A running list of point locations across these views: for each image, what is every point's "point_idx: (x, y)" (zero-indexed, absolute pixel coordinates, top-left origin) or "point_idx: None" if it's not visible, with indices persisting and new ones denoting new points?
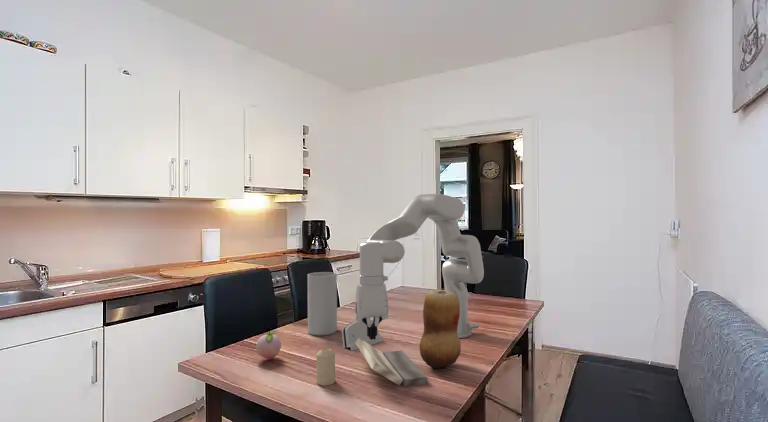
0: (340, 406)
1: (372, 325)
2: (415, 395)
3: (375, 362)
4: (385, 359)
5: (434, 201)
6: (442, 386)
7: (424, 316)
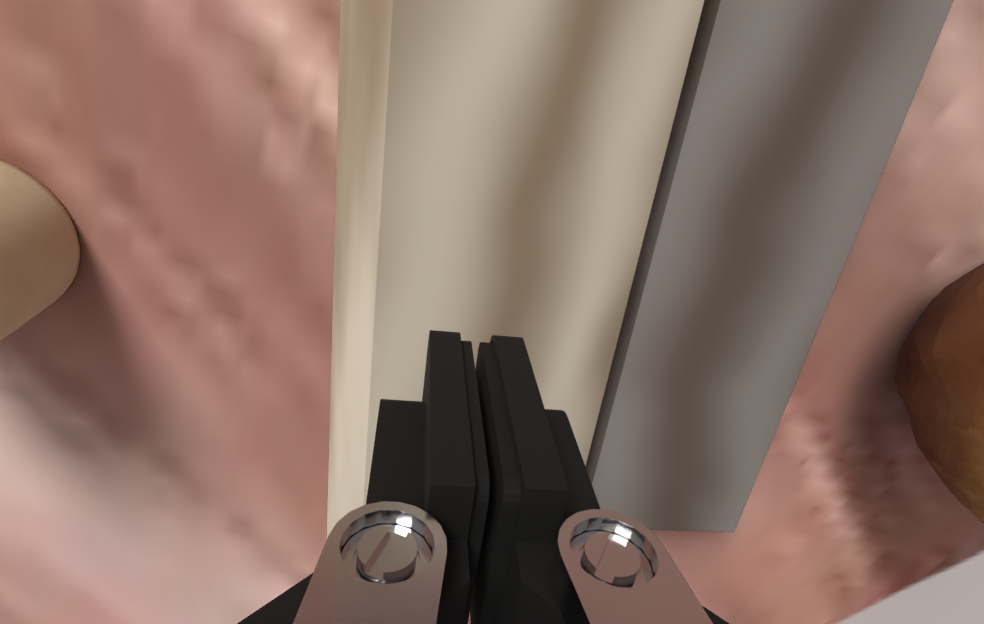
0: (114, 583)
1: (510, 554)
2: None
3: None
4: (627, 192)
5: None
6: (764, 547)
7: None
